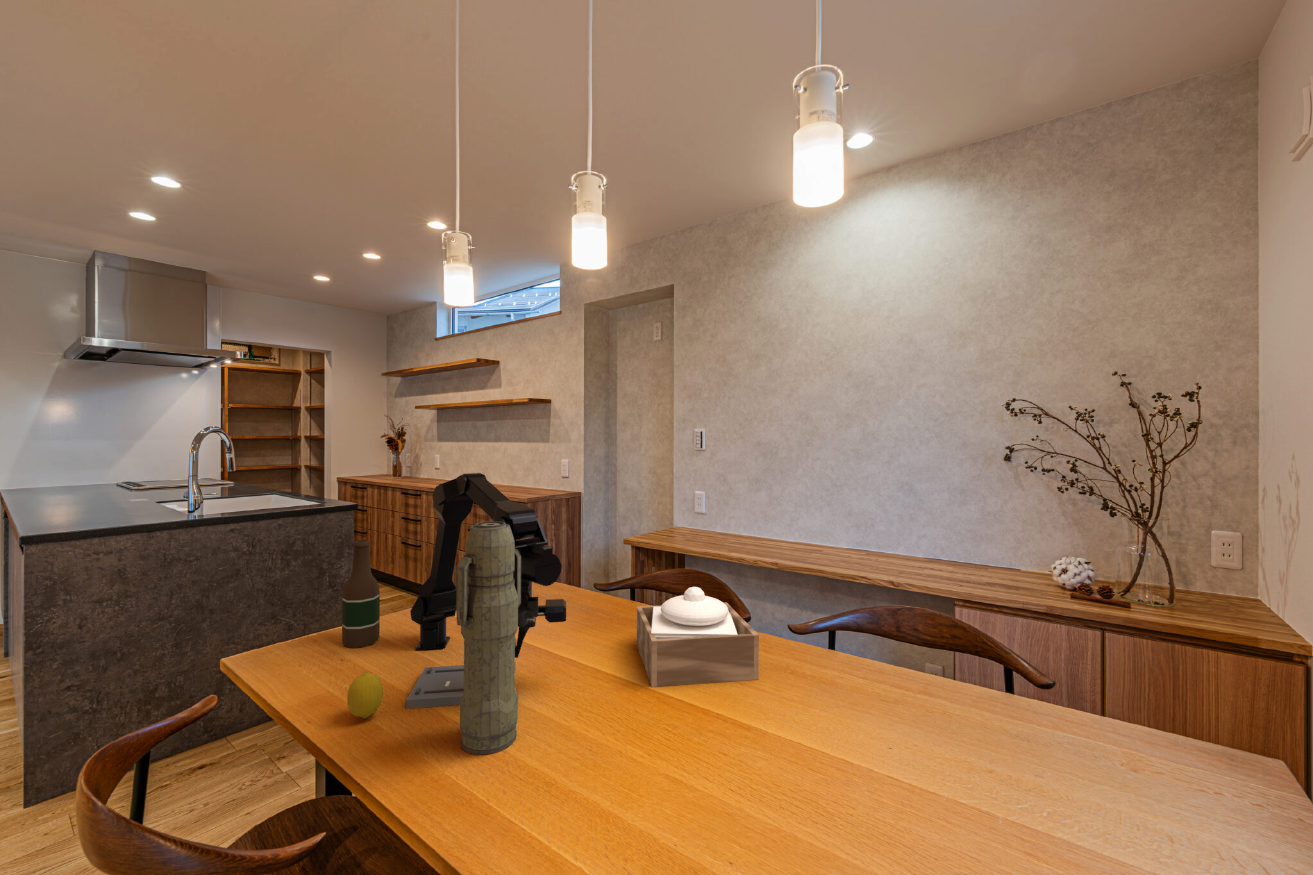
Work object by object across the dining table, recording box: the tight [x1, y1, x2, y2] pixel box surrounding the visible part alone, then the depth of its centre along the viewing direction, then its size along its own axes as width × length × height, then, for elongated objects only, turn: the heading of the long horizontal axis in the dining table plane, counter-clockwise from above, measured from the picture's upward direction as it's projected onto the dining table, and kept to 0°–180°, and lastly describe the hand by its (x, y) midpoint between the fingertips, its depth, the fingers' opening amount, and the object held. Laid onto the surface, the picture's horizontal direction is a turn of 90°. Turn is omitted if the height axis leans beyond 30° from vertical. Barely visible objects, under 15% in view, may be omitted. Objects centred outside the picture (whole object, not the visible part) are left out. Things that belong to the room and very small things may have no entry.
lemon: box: [346, 671, 384, 720], centre depth 95 cm, size 6×6×8 cm
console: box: [405, 661, 517, 709], centre depth 107 cm, size 14×18×2 cm
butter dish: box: [651, 586, 738, 639], centre depth 121 cm, size 18×18×16 cm
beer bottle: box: [341, 539, 381, 649], centre depth 129 cm, size 8×8×24 cm
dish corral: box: [636, 602, 760, 688], centre depth 121 cm, size 22×22×9 cm
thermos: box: [455, 520, 521, 756], centre depth 89 cm, size 9×12×35 cm
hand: (515, 657), depth 104 cm, fingers closed
